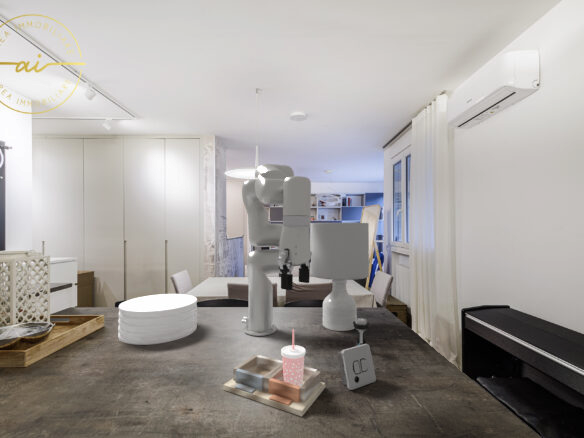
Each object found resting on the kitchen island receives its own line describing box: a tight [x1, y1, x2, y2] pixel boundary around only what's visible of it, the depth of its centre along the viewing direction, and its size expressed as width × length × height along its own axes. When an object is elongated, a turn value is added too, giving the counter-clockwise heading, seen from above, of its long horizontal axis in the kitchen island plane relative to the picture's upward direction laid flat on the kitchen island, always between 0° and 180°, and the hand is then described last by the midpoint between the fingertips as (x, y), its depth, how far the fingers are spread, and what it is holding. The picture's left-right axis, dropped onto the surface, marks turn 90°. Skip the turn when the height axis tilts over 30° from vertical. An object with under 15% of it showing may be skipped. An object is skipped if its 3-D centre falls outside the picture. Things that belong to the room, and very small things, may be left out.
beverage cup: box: [280, 328, 306, 386], centre depth 73 cm, size 6×6×14 cm
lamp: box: [309, 222, 370, 332], centre depth 123 cm, size 24×24×42 cm
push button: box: [353, 317, 370, 346], centre depth 97 cm, size 7×5×10 cm
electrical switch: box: [336, 343, 377, 391], centre depth 78 cm, size 9×5×9 cm, turn 121°
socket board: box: [222, 354, 326, 417], centre depth 74 cm, size 22×13×4 cm, turn 61°
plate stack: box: [117, 293, 198, 346], centre depth 116 cm, size 28×28×12 cm
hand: (295, 285), depth 80 cm, fingers open, 9 cm apart
